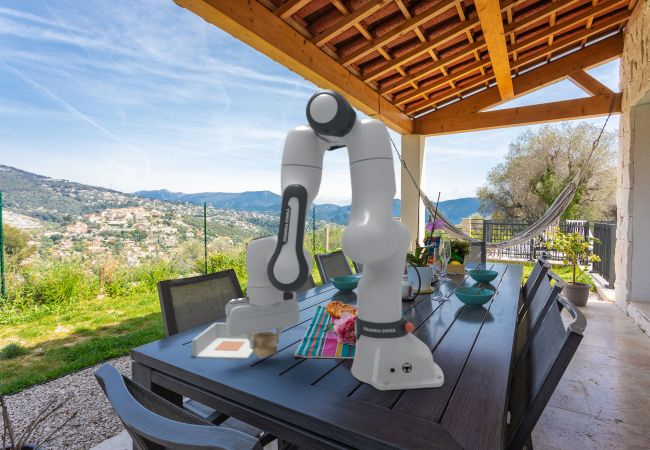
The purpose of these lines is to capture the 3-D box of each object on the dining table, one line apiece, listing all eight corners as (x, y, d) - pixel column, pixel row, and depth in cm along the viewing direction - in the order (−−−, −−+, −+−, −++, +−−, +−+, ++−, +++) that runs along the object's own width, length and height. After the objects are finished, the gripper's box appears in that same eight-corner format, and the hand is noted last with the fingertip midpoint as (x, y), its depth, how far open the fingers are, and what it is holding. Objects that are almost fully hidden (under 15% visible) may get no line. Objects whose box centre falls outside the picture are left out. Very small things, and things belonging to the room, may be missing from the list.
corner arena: (262, 338, 114) (262, 323, 114) (247, 358, 98) (247, 341, 98) (215, 337, 115) (214, 322, 115) (192, 357, 99) (192, 339, 99)
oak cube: (269, 348, 99) (269, 330, 99) (277, 353, 95) (276, 335, 95) (252, 352, 96) (252, 333, 96) (259, 357, 92) (258, 338, 92)
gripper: (228, 302, 87) (230, 358, 88) (301, 292, 98) (302, 341, 98) (221, 298, 93) (223, 350, 93) (291, 288, 103) (292, 335, 104)
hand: (264, 345), depth 96 cm, fingers closed on oak cube, 5 cm apart
